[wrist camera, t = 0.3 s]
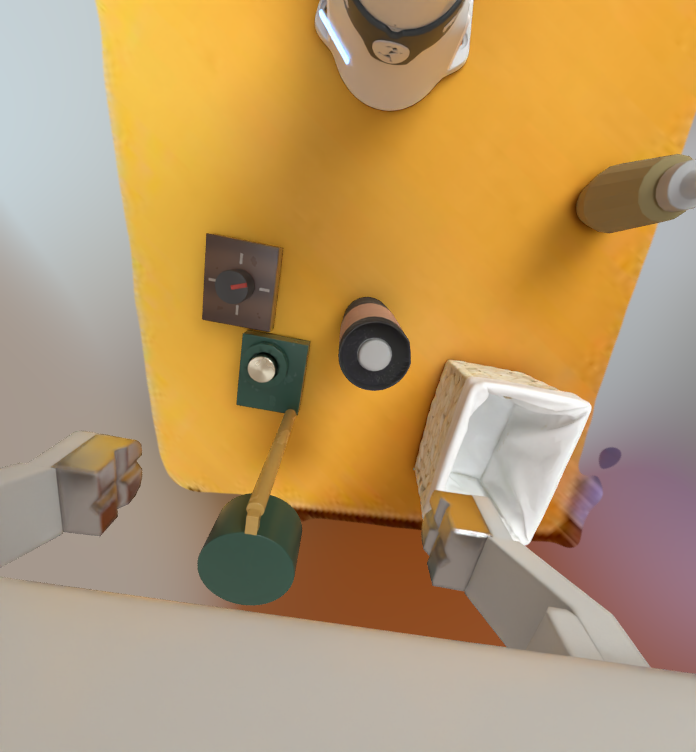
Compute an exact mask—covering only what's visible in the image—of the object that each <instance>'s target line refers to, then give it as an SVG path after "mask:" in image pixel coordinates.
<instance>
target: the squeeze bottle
mask: <svg viewBox="0 0 696 752" xmlns="http://www.w3.org/2000/svg"><path fill="white" fill-rule="evenodd" d="M695 207H696V159H692V158H691V157H690V156H685V155H680V154H675V155H670V156H664V157H658V158H652V159H646V160H640V161H634V162H629V163H623V164H619V165H615V166H611V167H609V168H607V169H606V170H605V171H603V172H602V173H600V174H599V175H597V176H596V177H595V178H594V179H593V180H592V181H591V182H590V183H589V184H588V185H587V186H586V187H585V188H584V189H583V191H582V192H581V193H580V195H579V197H578V200H577V203H576V213H577V215H578V217H579V219H580V221H582V222H583V223H584V224H586V225H587V226H589V227H591V228H593V229H594V230H596V231H599V232H604V233H613V232H618V231H622V230H627V229H632V228H636V227H641V226H646V225H650V224H655V223H660V222H664V221H668V220H672V219H675V218H676V217H678V216H679V215H681V214H682V213H684V212H685V211H686V210H688V209H692V208H695Z"/></svg>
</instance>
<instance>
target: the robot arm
mask: <svg viewBox="0 0 696 752" xmlns="http://www.w3.org/2000/svg"><path fill="white" fill-rule="evenodd" d="M473 1H474V0H320V1H319V5H318V8H317V12H316V15H315V29H316V32H317V34H318V35H319V37H320V38H321V40H322V41H323V42H324V43H325V45H326V46H327V47H328V48H329V49H330V50H331V52H332V54H333V57H334V60H335V63H336V65H337V68H338V71H339V73H340V76H341V78H342V80H343V81H344V83H345V85H346V86H347V88H348V89H349V90H350V91H351V93H352V94H353V95H354V96H355V97H356V98H358V99H359V100H360V101H361V102H363V103H364V104H366V105H368V106H370V107H373V108H375V109H379V110H385V111H394V110H400V109H404V108H407V107H409V106H412V105H414V104H415V103H417V102H419V101H420V100H421V99H423V98H424V97H425V96H426V95H427V94H428V93H429V92H430V91H431V90H432V89H433V88H434V87H435V85H436V84H437V83H438V82H439V81H440V80H441V79H442V78H443V77H445V76H447V75H449V74H451V73H453V72H455V71H457V70H458V69H460V68H461V67H462V66H463V65H464V64H465V62H466V60H467V57H468V54H469V46H470V34H471V23H472V12H473ZM326 9H327V13H326V12H325V10H326ZM461 42H462V45H461V46H460V44H461ZM141 455H142V448H141V444H140V442H139V441H137V440H132V439H126V438H121V437H115V436H110V435H104V434H98V433H93V432H87V431H76V432H74V433H73V434H71V435H69V436H68V437H66V438H65V439H63V440H62V441H60V442H59V443H57V444H56V445H54V446H53V447H51V448H49V449H48V450H46V451H45V452H43V453H42V454H40V455H39V456H37V457H36V458H34V459H33V460H31V461H29V462H28V463H26V464H23V463H17V464H13V465H10V466H5V467H2V468H0V568H1V567H3V566H4V565H6V564H8V563H10V562H12V561H14V560H16V559H17V558H19V557H21V556H23V555H25V554H27V553H29V552H30V551H32V550H34V549H36V548H38V547H40V546H41V545H43V544H45V543H47V542H49V541H51V540H53V539H54V538H56V537H58V536H60V535H61V534H63V532H68V533H76V534H85V535H94V536H101V535H102V533H103V532H104V531H105V530H106V529H107V528H108V527H109V526H110V524H111V523H112V522H113V521H114V520H115V519H116V518H117V517H118V514H117V513H118V511H117V509H119V508H121V507H123V506H125V505H127V504H129V503H130V502H131V500H132V499H133V498H134V497H135V495H136V493H137V491H138V489H139V487H140V484H141V480H142V468H141V467H140V465H139V464H138V463H137V459H138V458H139V457H140V456H141ZM429 502H430V506H431V510H430V511H428V512H427V513H426V514H425V516H424V520H423V523H422V532H421V535H422V544H423V548H424V550H425V551H426V552H427V553H428V555H429V556H430V557H429V559H428V562H427V565H428V569H429V573H430V577H431V581H432V585H433V586H437V587H443V588H449V589H454V590H460V591H465V594H466V596H467V597H468V598H469V599H470V601H471V602H472V603H473V605H474V606H475V607H476V608H477V610H478V611H479V612H480V613H481V615H482V616H483V617H484V618H485V620H486V621H487V622H488V624H489V625H490V626H491V627H492V629H493V630H494V631H495V633H496V634H497V635H498V636H499V637H500V639H501V640H502V641H503V643H504V644H505V645H506V646H507V647H500V646H493V645H485V644H477V643H470V642H463V641H456V640H449V639H441V638H434V637H427V636H420V635H413V634H405V633H398V632H391V631H384V630H377V629H370V628H363V627H356V626H349V625H342V624H335V623H327V622H320V621H314V620H307V619H300V618H293V617H285V616H278V615H271V614H263V613H256V612H249V611H242V610H234V609H228V608H220V607H213V606H205V605H199V604H191V603H185V602H177V601H170V600H163V599H155V598H149V597H141V596H134V595H127V594H119V593H113V592H106V591H98V590H91V589H84V588H77V587H70V586H63V585H55V584H48V583H41V582H34V581H27V580H20V579H12V578H5V577H0V752H696V674H693V673H686V672H679V671H671V670H664V669H657V668H651V667H650V666H649V665H648V663H647V662H646V660H645V659H644V658H643V656H642V655H641V653H640V652H639V651H638V649H637V648H636V646H635V645H634V644H633V642H632V641H631V639H630V638H629V637H628V635H627V634H626V632H625V631H624V630H623V628H622V627H621V626H620V624H619V623H618V621H617V620H616V619H615V618H614V616H613V615H612V614H611V613H610V612H609V611H607V610H606V609H605V608H603V607H602V606H601V605H599V604H598V603H597V602H596V601H594V600H593V599H591V598H590V597H589V596H588V595H587V594H585V593H584V592H583V591H582V590H580V589H579V588H578V587H577V586H575V585H574V584H573V583H571V582H570V581H569V580H568V579H566V578H565V577H564V576H563V575H561V574H560V573H558V572H557V571H556V570H555V569H553V568H552V567H551V566H550V565H548V564H547V563H546V562H545V561H543V560H542V559H541V558H539V557H538V556H537V555H536V554H534V553H533V552H532V551H530V550H529V549H528V548H527V547H525V546H524V545H523V544H522V543H520V542H519V541H513V539H512V537H511V535H510V534H509V532H508V530H507V528H506V527H505V525H504V523H503V521H502V519H501V518H500V516H499V514H498V512H497V511H496V509H495V507H494V505H493V504H492V502H491V500H490V499H489V498H487V497H484V496H477V495H466V494H459V493H453V492H446V491H440V490H434V491H433V493H432V495H431V498H430V501H429Z"/></svg>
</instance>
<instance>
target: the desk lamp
mask: <svg viewBox="0 0 696 752" xmlns="http://www.w3.org/2000/svg"><path fill="white" fill-rule="evenodd" d="M295 418H296V412H295V411H294V410H292V409H288V410H286V411H285V414H284V416H283V419H282V421H281V424H280V426H279V429H278V431H277V433H276V436H275V438H274V441H273V443H272V446H271V448H270V451H269V453H268V456H267V458H266V461H265V463H264V465H263V468H262V470H261V473H260V475H259V478H258V480H257V483H256V485H255V488H254V490H253V493H251V494H245V495H241V496H238V497H236V498H234V499H232V500H231V501H230V502H228V503H227V504H226V505H225V506H224V508H223V509H222V510H221V512H220V514H219V516H218V518H217V520H216V522H215V524H214V526H213V528H212V530H211V532H210V534H209V537H208V538H207V540H206V542H205V544H204V546H203V548H202V550H201V553H200V555H199V557H198V572H199V575H200V578H201V580H202V581H203V583H204V584H205V585H206V587H207V588H208V589H209V590H210V591H211V592H213V593H214V594H216V595H217V596H219V597H220V598H222V599H225V600H227V601H229V602H232V603H236V604H241V605H260V604H266V603H269V602H272V601H274V600H276V599H278V598H280V597H281V596H282V595H284V594H285V593H286V592H287V591H288V589H289V588H290V587H291V585H292V583H293V580H294V576H295V569H296V563H297V558H298V553H299V547H300V541H301V535H302V525H301V521H300V518H299V516H298V514H297V513H296V511H295V510H294V509H293V508H292V507H291V506H290V505H289V504H288V503H286V502H285V501H283V500H281V499H279V498H277V497H275V496H272V495H270V493H271V490H272V487H273V484H274V481H275V478H276V475H277V472H278V469H279V466H280V463H281V460H282V457H283V454H284V451H285V448H286V445H287V442H288V439H289V436H290V433H291V430H292V427H293V424H294V421H295Z"/></svg>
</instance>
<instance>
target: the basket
mask: <svg viewBox="0 0 696 752" xmlns="http://www.w3.org/2000/svg"><path fill="white" fill-rule="evenodd" d="M590 412H591V405H590V404H589V402H587V401H585V400H583V399H581V398H580V397H578V396H577V395H575V394H573V393H570V392H563V391H559V390H558V389H556V388H554V387H552V386H548V385H547V384H546V383H543V382H541V381H539V380H536V379H534V378H532V377H531V376H529V375H526V374H524V373H521V372H517V371H510V370H506V369H498V368H496V367H491V366H483V365H479V364H474V363H467V362H465V361H453V360H448V361H447V362H446V364H445V367H444V370H443V373H442V376H441V378H440V383H439V385H438V387H437V389H436V396H435V398H434V399H433V401H432V404H431V408H430V412H429V414H428V417H427V422H426V427H425V430H424V433H423V439H422V441H421V444H420V448H419V454H418V456H417V461H416V465H415V468H413V470H415V472H416V473H415V474H416V477H417V478H416V479H417V485H418V491H419V495H420V498H421V511H422V518H423V520H424V516H425V514H426V513H427V512H428V511H430V510H431V506H430V502H429V501H430V498H431V495H432V493H433V491H434V490H440V491H446V492H453V493H459V494H466V495H477V496H484V497H487V498H489V499H490V500H491V502H492V504H493V505H494V507H495V509H496V511H497V512H498V514H499V516H500V518H501V519H502V521H503V523H504V525H505V527H506V528H507V530H508V532H509V534H510V535H511V537H512V539H513V541H519V542H520V543H522V544H523V545H524V546H525V545H527V544H529V543H530V541H531V539H532V537H533V535H534V533H535V531H536V529H537V527H538V525H539V524H540V522H541V520H542V518H543V516H544V514H545V511H546V509H547V507H548V505H549V503H550V501H551V499H552V496H553V494H554V492H555V490H556V488H557V485H558V483H559V481H560V479H561V476H562V474H563V472H564V470H565V467H566V465H567V463H568V461H569V459H570V457H571V455H572V453H573V450H574V448H575V446H576V444H577V442H578V440H579V437H580V435H581V433H582V431H583V429H584V426H585V424H586V421H587V419H588V416H589V414H590Z"/></svg>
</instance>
